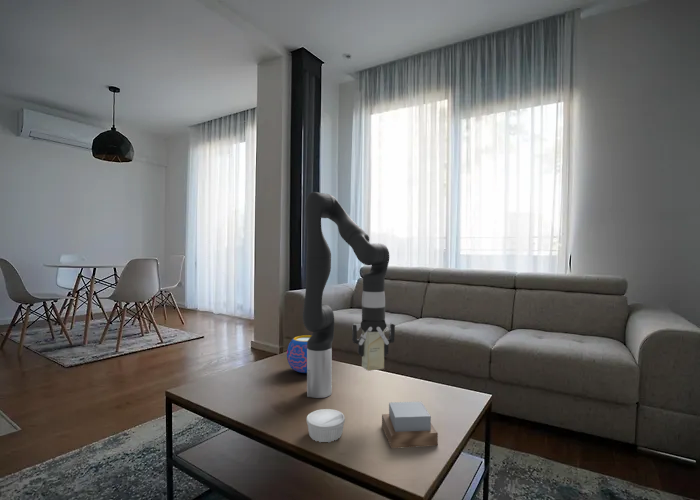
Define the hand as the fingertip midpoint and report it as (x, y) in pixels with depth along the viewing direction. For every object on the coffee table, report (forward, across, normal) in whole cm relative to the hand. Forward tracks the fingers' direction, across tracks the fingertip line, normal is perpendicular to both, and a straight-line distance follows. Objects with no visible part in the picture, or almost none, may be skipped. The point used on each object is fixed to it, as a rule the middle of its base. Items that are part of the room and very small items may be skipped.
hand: (373, 355), depth 118 cm
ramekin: (+20, -16, -10) cm, 27 cm away
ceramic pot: (+20, -22, +47) cm, 56 cm away
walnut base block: (+20, +8, -13) cm, 25 cm away
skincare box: (+4, 0, 0) cm, 4 cm away
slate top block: (+16, +8, -13) cm, 22 cm away
